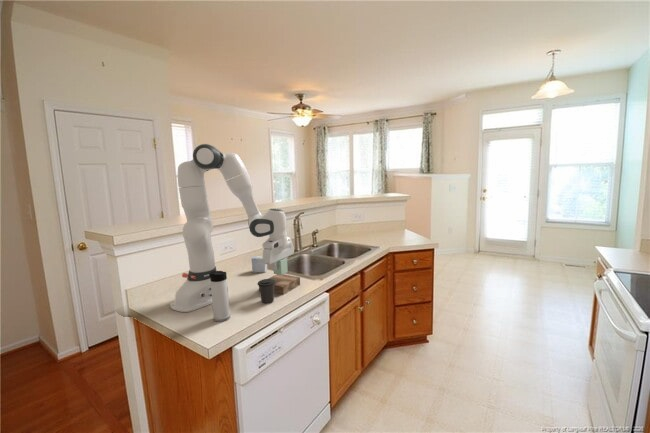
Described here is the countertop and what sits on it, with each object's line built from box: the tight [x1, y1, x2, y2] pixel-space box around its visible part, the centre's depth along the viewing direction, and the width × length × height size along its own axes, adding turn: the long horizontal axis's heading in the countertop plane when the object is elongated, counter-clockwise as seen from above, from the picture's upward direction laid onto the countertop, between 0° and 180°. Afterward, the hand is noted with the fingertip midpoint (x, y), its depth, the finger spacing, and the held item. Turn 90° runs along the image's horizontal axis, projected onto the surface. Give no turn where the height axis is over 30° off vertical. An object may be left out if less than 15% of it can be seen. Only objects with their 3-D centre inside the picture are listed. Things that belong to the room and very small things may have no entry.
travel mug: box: [209, 270, 231, 323], centre depth 120 cm, size 6×7×20 cm
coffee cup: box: [257, 278, 276, 305], centre depth 135 cm, size 8×8×10 cm
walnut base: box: [267, 274, 301, 296], centre depth 152 cm, size 14×14×4 cm
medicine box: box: [251, 255, 268, 273], centre depth 177 cm, size 8×4×9 cm, turn 84°
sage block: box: [272, 258, 289, 275], centre depth 151 cm, size 5×5×7 cm
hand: (280, 267), depth 151 cm, fingers closed on sage block, 5 cm apart
